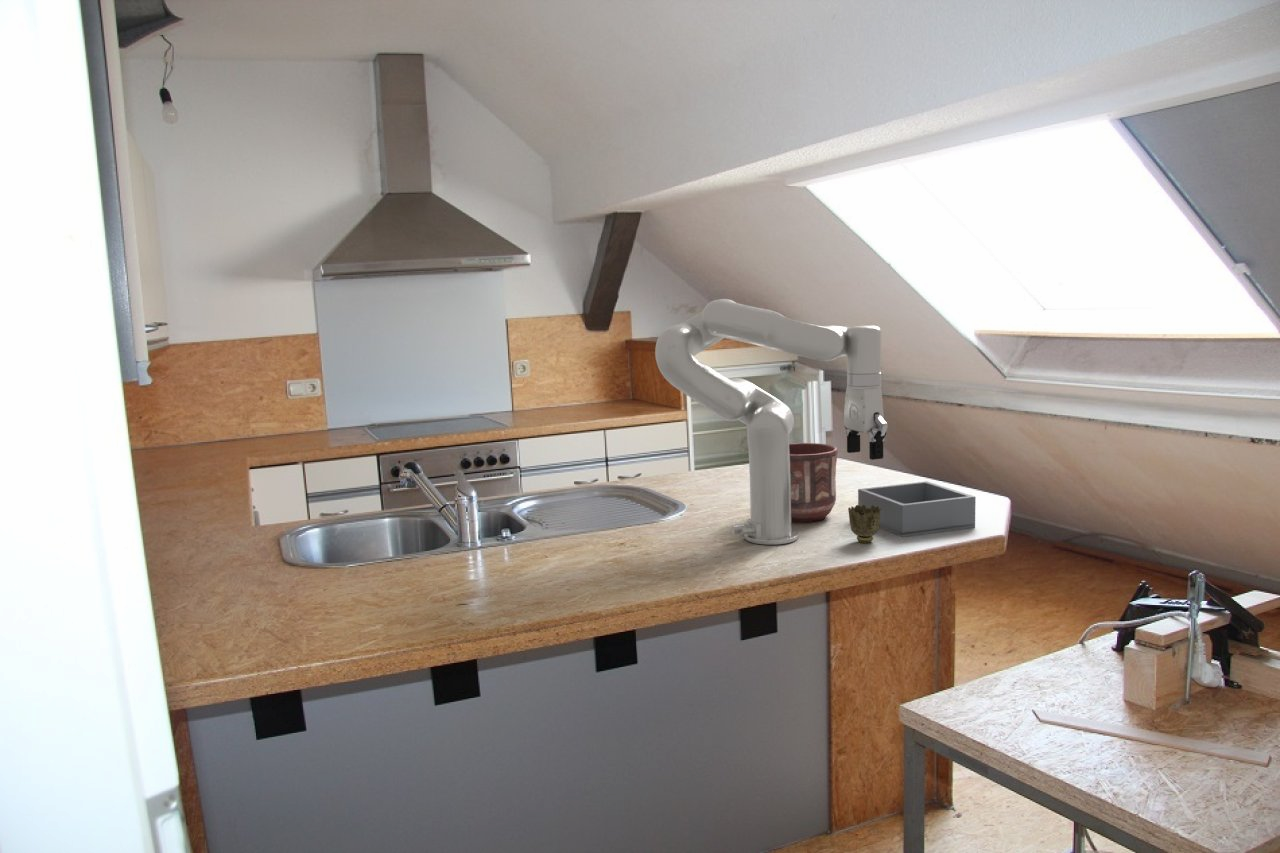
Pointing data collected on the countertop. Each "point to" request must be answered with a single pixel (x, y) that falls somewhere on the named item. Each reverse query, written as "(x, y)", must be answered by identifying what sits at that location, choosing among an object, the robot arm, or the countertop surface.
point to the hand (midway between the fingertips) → (864, 455)
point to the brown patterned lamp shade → (864, 522)
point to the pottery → (812, 481)
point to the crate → (920, 508)
